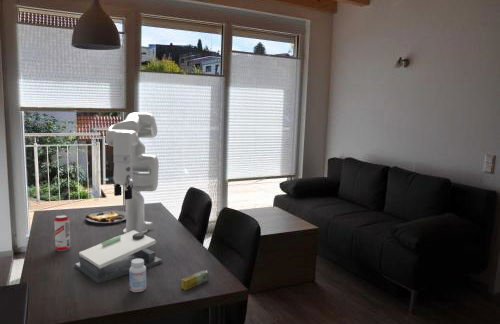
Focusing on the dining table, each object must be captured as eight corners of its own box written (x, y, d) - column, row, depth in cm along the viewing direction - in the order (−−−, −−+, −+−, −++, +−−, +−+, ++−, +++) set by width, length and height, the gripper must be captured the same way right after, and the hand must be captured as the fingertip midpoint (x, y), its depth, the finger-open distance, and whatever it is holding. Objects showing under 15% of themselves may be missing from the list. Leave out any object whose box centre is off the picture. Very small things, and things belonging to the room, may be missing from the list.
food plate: (97, 228, 221) (97, 222, 221) (78, 219, 237) (78, 213, 236) (137, 220, 240) (137, 214, 239) (117, 212, 255) (117, 207, 255)
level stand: (136, 249, 192) (136, 240, 191) (161, 262, 178) (161, 252, 177) (75, 266, 171) (74, 256, 171) (98, 283, 157) (98, 271, 156)
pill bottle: (131, 285, 156) (130, 257, 154) (147, 285, 157) (147, 257, 155) (128, 292, 150) (127, 264, 148) (144, 292, 151) (144, 263, 149)
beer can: (64, 252, 187) (63, 218, 184) (52, 250, 188) (50, 217, 186) (73, 247, 193) (71, 214, 191) (61, 246, 194) (59, 213, 192)
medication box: (204, 278, 164) (204, 269, 163) (208, 280, 162) (208, 271, 162) (180, 288, 155) (180, 278, 154) (185, 291, 153) (185, 281, 153)
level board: (134, 233, 188) (133, 226, 188) (156, 243, 176) (155, 236, 175) (79, 255, 171) (78, 248, 170) (99, 268, 158) (98, 261, 158)
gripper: (140, 160, 176) (140, 199, 178) (121, 156, 189) (121, 193, 191) (123, 161, 171) (124, 201, 173) (105, 157, 183) (106, 195, 185)
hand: (123, 197), depth 182 cm, fingers open, 9 cm apart
